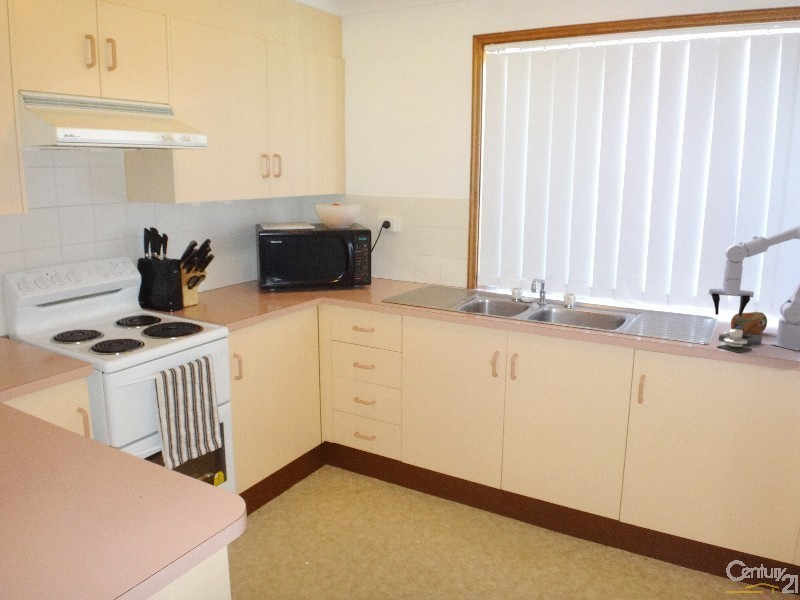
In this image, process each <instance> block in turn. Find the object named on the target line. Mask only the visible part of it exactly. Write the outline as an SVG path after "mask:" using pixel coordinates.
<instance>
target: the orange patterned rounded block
mask: <svg viewBox="0 0 800 600" xmlns="http://www.w3.org/2000/svg"><path fill="white" fill-rule="evenodd" d="M767 318H768V317H767V315H766V314H764V312H759V311H749V312H743V313H742V316H741V317H740V316H739V312H738V313H736V314H734V315H733V316H732V318H731V319H730V329H740V330H743V334H747V335H758V334H761V333H763V332H764V331H765V330H766V328H767V325H768V319H767Z"/></svg>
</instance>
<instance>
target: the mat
mask: <svg viewBox="0 0 800 600" xmlns="http://www.w3.org/2000/svg"><path fill="white" fill-rule="evenodd" d="M716 348H717V349H721V350H724V351H725V350H726V351H729V352H733V353H737V354H741V353H746V352H750V351H753V348H751V347H749V346H745V347H744V346H743V347H742V348H741V349H735V348H729V347H727V343H726V344H721V345H717V346H716Z"/></svg>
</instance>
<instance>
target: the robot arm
mask: <svg viewBox="0 0 800 600" xmlns="http://www.w3.org/2000/svg"><path fill="white" fill-rule="evenodd" d="M795 239H796V240H800V225H796V226H793V227H791V228H788V229H786V230H783V231H781V232H778V233H775V234H772V235H770V236H768V237H765V236H761V235H760V236H757V235H754V236H752V238H751V239H749V240H748V239H747V240H746V241H739V242H738V244H731V245H730V246H728V247H727V249H726V250H725V256H726V260H725V265H724V270H723V271H724V272H723V282H722V288H708V292H707V293H708V295H709V296H711V298H712V301H713V306H714V310H715V312H714V313H715V315H717V316H718V315H719V306H720V301H721V298H720V297H721V296H731V297H740V298H739V299H740V301H739V308H738V309H739V310H738V313H739V316H740V317H741V316H742V313H744V310H745V308H746V307H747V305H748V303H749V302H750V300H751V298H754V293H755V292H754V291H751V290H743V289H741V284H742V277H743V276H742V275H743V268H744V267H743V262H744V260H745V258H750V257H753V256H756V255H760V254H763V253H765V252H767V251H768V249H769V248H770V247H771V246H774V245H778V244H781V243H784V242H788V241H791V240H795ZM779 309H780V310H779V313H780V315H781V317H780V318H779V320H778V328H777V334H776V341H774V342H771V343H770V345H772V346H776V347H779V348H784V349H789V350H793V351H795V352H796V351H800V280H799V282H798V283H797V285H796V286H795V289H794V291H793V292H792V294H791V295H790V296H789V297H788V298H787V300H786V301H785V302H783V303H782V304H781V305H780V308H779Z"/></svg>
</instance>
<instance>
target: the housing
mask: <svg viewBox="0 0 800 600" xmlns="http://www.w3.org/2000/svg"><path fill="white" fill-rule="evenodd" d="M729 335H730V332H728V333H727V332H726V333H723V334H719V335H718V341H720V342H721V341H722V342H724V338H727V337H729ZM742 339H745V340H747V344H743V346H744V347H749V346H755V345H758V344H762V339H763V338H762V337H760V336H756V335H753V334H749V335H747V334H743V335H742Z"/></svg>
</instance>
